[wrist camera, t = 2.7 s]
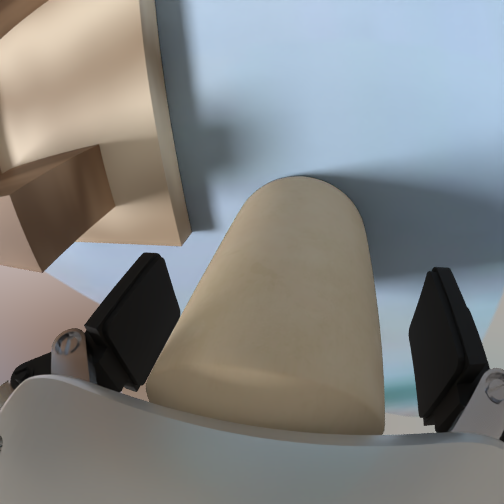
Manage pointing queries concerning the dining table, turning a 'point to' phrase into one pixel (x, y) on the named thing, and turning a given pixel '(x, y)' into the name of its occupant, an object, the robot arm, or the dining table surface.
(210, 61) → the dining table surface
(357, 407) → the candle
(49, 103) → the holder
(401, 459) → the robot arm
